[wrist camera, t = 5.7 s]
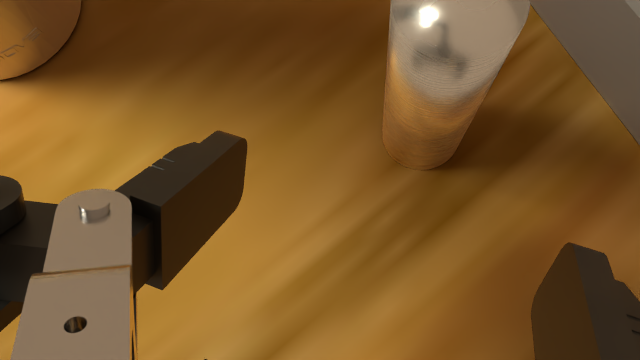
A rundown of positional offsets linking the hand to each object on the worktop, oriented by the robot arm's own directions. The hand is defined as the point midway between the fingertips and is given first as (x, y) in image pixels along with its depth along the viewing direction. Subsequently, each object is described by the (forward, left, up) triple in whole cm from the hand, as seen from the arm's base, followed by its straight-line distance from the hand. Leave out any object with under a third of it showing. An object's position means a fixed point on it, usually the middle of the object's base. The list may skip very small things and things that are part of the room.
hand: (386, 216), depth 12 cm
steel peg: (-5, +5, -12) cm, 14 cm away
